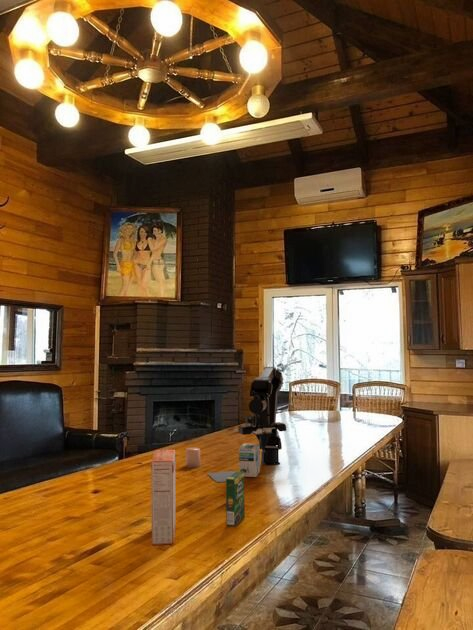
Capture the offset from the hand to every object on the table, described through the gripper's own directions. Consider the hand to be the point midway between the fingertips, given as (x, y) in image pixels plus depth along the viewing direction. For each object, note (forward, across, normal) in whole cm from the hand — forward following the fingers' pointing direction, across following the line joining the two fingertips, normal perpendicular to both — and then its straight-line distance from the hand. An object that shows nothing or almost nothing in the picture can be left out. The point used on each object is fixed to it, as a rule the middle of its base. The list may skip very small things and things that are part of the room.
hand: (262, 450), depth 193 cm
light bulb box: (+9, +6, 0) cm, 10 cm away
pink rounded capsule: (+8, +23, -22) cm, 33 cm away
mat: (+8, +16, 0) cm, 18 cm away
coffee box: (+8, +29, +47) cm, 56 cm away
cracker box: (+8, +50, +49) cm, 70 cm away
